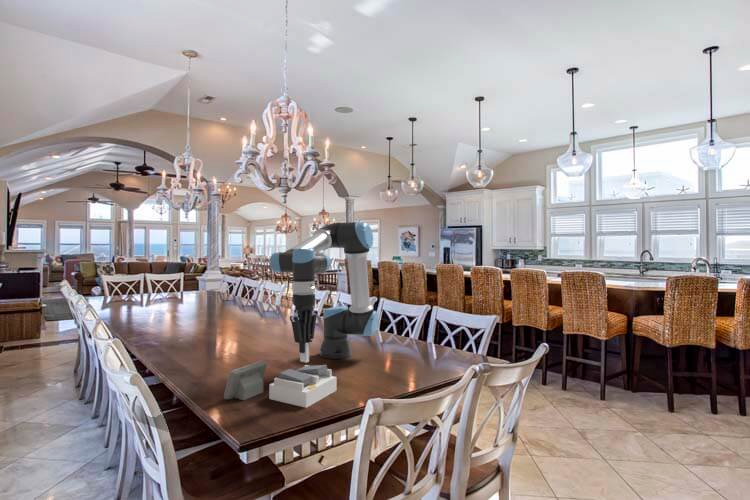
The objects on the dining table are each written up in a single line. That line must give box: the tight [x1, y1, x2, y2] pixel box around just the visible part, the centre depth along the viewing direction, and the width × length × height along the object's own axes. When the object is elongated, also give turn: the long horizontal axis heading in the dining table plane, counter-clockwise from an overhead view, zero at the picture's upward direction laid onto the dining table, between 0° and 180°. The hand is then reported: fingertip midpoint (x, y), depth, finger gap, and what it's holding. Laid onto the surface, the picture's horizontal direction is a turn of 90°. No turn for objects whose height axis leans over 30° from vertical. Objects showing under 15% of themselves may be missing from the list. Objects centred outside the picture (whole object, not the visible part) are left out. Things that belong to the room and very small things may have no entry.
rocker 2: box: [296, 364, 328, 375], centre depth 149 cm, size 10×5×2 cm, turn 62°
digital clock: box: [223, 360, 267, 401], centre depth 145 cm, size 16×9×11 cm, turn 137°
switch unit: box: [268, 364, 338, 409], centre depth 145 cm, size 16×18×7 cm
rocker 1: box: [278, 368, 312, 385], centre depth 141 cm, size 10×5×2 cm, turn 62°
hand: (304, 361), depth 139 cm, fingers closed
